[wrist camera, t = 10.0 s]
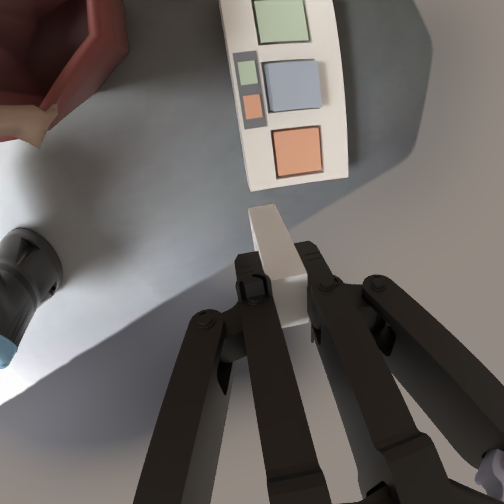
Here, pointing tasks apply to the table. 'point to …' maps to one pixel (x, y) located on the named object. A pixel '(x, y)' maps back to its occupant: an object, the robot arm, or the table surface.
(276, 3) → the sage key
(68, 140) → the table surface
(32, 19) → the bucket
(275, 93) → the slate key
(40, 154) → the table surface
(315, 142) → the terracotta key
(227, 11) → the keypad
